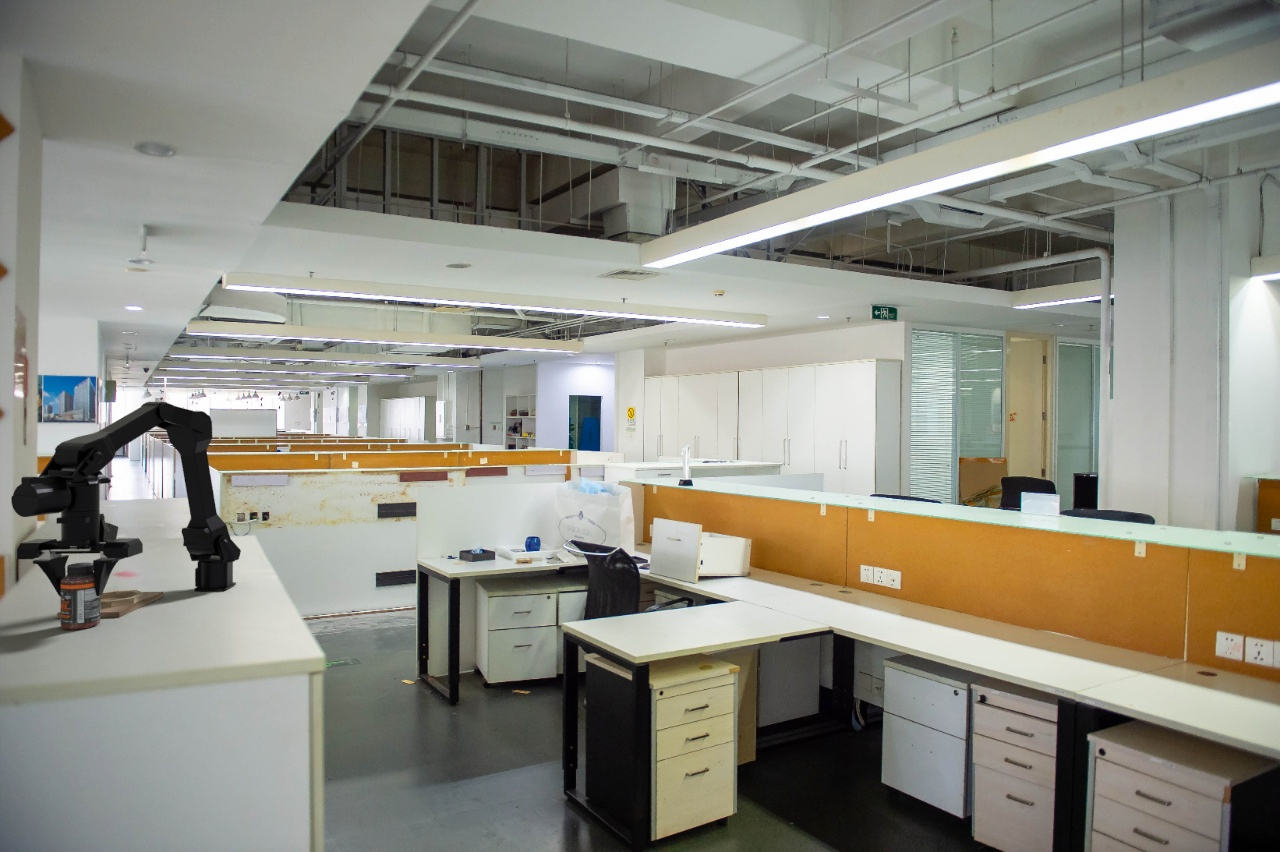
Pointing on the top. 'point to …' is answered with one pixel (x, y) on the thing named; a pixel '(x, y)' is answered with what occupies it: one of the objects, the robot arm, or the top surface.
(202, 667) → the top surface
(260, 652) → the top surface
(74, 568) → the supplement bottle
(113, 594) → the wooden board with rim
